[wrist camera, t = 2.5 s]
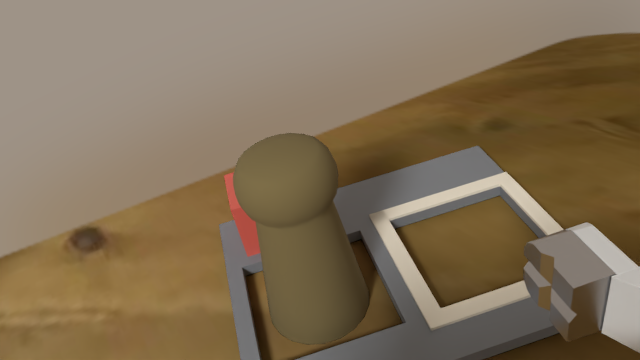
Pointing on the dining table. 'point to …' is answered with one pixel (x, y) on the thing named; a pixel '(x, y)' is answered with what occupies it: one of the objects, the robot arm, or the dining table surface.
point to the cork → (301, 238)
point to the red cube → (242, 220)
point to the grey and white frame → (402, 274)
